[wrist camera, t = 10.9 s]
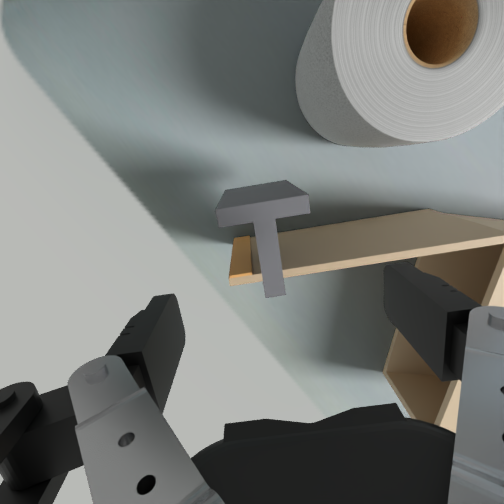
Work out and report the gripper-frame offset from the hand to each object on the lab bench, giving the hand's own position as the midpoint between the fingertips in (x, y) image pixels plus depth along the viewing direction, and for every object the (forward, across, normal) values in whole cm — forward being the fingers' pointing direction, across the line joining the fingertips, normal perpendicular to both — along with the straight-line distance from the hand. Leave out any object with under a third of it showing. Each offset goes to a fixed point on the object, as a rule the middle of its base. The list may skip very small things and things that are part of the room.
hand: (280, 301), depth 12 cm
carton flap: (+19, -7, 0) cm, 21 cm away
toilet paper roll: (+20, -10, -10) cm, 25 cm away
